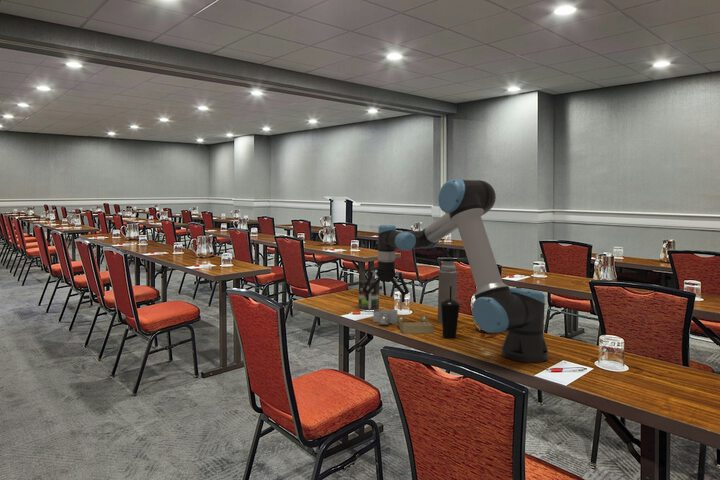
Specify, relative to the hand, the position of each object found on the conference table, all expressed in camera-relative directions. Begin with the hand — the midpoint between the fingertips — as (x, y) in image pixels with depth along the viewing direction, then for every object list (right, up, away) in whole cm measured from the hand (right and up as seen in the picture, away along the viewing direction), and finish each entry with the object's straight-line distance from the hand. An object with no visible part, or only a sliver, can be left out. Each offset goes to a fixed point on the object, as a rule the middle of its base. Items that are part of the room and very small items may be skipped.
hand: (385, 308), depth 215 cm
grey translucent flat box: (+12, -7, -12) cm, 18 cm away
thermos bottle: (+27, -6, +1) cm, 28 cm away
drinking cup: (+24, -8, -23) cm, 34 cm away
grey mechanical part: (0, -6, -3) cm, 7 cm away
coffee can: (-7, -4, +25) cm, 26 cm away
